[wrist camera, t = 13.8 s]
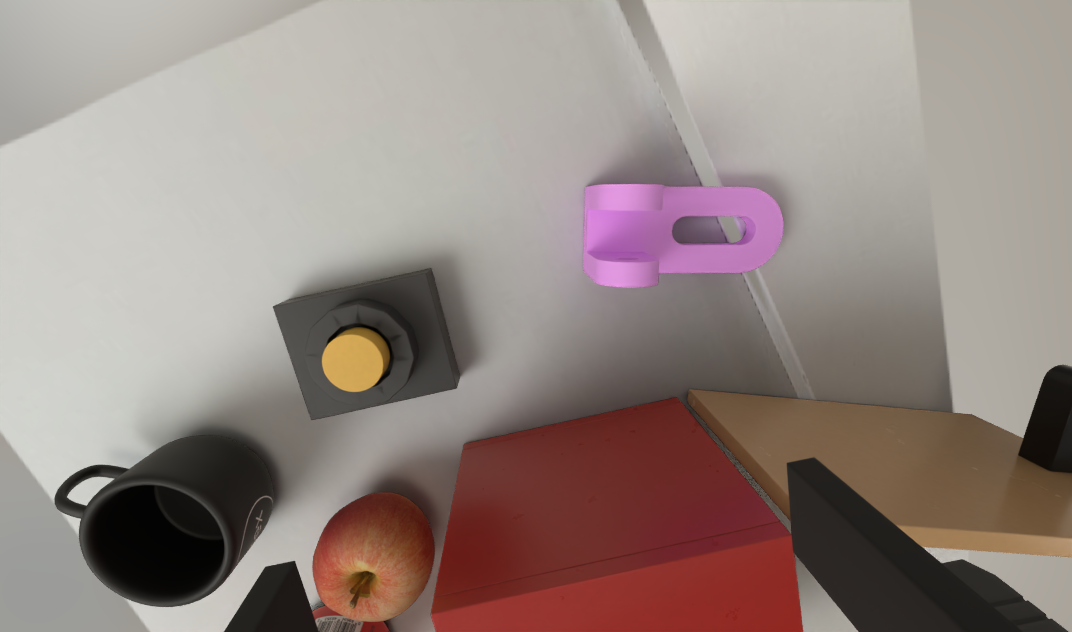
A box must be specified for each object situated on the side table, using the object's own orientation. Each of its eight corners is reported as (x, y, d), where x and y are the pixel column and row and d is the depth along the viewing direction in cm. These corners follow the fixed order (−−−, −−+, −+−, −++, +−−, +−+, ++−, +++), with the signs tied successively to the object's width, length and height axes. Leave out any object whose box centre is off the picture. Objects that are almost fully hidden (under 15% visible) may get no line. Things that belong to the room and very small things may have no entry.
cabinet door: (703, 308, 36) (843, 387, 21) (995, 337, 38) (1324, 432, 23) (686, 401, 38) (805, 539, 22) (968, 426, 39) (1258, 571, 24)
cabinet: (677, 396, 38) (792, 534, 22) (716, 640, 43) (834, 893, 27) (463, 443, 38) (429, 614, 22) (527, 681, 43) (537, 957, 27)
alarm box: (431, 268, 35) (421, 276, 31) (460, 377, 37) (454, 398, 33) (287, 300, 35) (258, 312, 31) (322, 407, 37) (300, 432, 33)
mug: (299, 446, 37) (250, 503, 30) (267, 550, 39) (214, 626, 32) (128, 393, 36) (36, 440, 29) (102, 503, 38) (10, 572, 31)
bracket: (583, 270, 35) (600, 287, 29) (585, 186, 34) (603, 183, 27) (768, 269, 36) (828, 286, 29) (777, 187, 35) (841, 184, 28)
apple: (364, 583, 40) (328, 675, 32) (315, 498, 38) (265, 575, 31) (459, 546, 40) (446, 630, 32) (414, 459, 38) (389, 526, 30)
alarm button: (381, 321, 32) (373, 328, 30) (396, 375, 33) (390, 385, 31) (324, 334, 32) (313, 341, 30) (341, 387, 33) (331, 398, 31)
